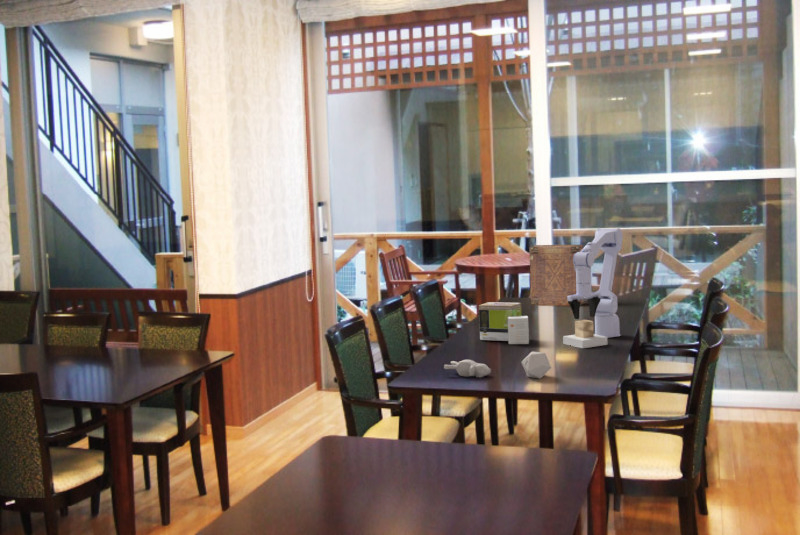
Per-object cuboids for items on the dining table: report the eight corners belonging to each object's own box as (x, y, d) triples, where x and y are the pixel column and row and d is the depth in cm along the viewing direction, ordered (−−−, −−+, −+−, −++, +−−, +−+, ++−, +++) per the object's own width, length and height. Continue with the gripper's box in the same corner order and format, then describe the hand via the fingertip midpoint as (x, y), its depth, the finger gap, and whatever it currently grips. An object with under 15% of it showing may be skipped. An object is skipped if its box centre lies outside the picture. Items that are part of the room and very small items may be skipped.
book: (530, 305, 451) (528, 246, 448) (534, 302, 460) (533, 245, 457) (580, 306, 442) (579, 246, 439) (583, 303, 450) (582, 244, 447)
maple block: (585, 334, 348) (585, 319, 347) (593, 336, 343) (593, 321, 343) (575, 336, 346) (574, 321, 345) (583, 338, 341) (583, 322, 341)
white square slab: (587, 340, 352) (587, 332, 352) (607, 344, 342) (607, 336, 341) (563, 343, 347) (563, 336, 347) (582, 348, 336) (582, 340, 336)
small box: (529, 341, 355) (528, 315, 354) (528, 344, 349) (527, 317, 348) (509, 341, 356) (508, 315, 355) (508, 344, 350) (507, 318, 349)
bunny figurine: (483, 368, 291) (442, 360, 298) (482, 383, 292) (441, 374, 299) (494, 362, 300) (454, 354, 307) (493, 377, 301) (452, 369, 307)
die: (525, 375, 299) (513, 355, 294) (547, 361, 299) (536, 340, 294) (535, 389, 292) (524, 368, 287) (558, 374, 292) (547, 354, 287)
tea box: (522, 338, 363) (521, 302, 361) (513, 342, 354) (512, 305, 352) (489, 336, 370) (488, 301, 369) (479, 340, 361) (478, 304, 360)
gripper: (592, 280, 349) (592, 314, 350) (562, 283, 342) (563, 318, 344) (603, 281, 343) (604, 316, 344) (573, 285, 336) (574, 320, 338)
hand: (584, 317), depth 343 cm, fingers open, 7 cm apart
